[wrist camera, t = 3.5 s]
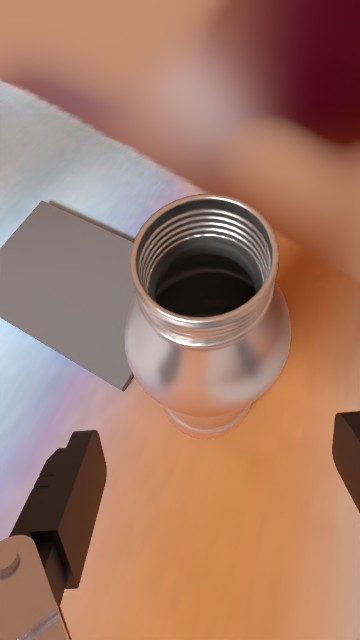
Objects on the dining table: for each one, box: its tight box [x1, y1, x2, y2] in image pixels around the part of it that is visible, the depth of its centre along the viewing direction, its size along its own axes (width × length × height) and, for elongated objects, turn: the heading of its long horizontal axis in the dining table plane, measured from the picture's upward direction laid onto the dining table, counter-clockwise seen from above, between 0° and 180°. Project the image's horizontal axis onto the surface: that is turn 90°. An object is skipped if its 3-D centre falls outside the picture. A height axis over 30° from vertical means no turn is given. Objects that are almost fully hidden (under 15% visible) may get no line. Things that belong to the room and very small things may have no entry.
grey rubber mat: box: [0, 201, 136, 392], centre depth 31 cm, size 18×12×1 cm, turn 60°
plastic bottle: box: [124, 194, 291, 439], centre depth 17 cm, size 6×7×20 cm
